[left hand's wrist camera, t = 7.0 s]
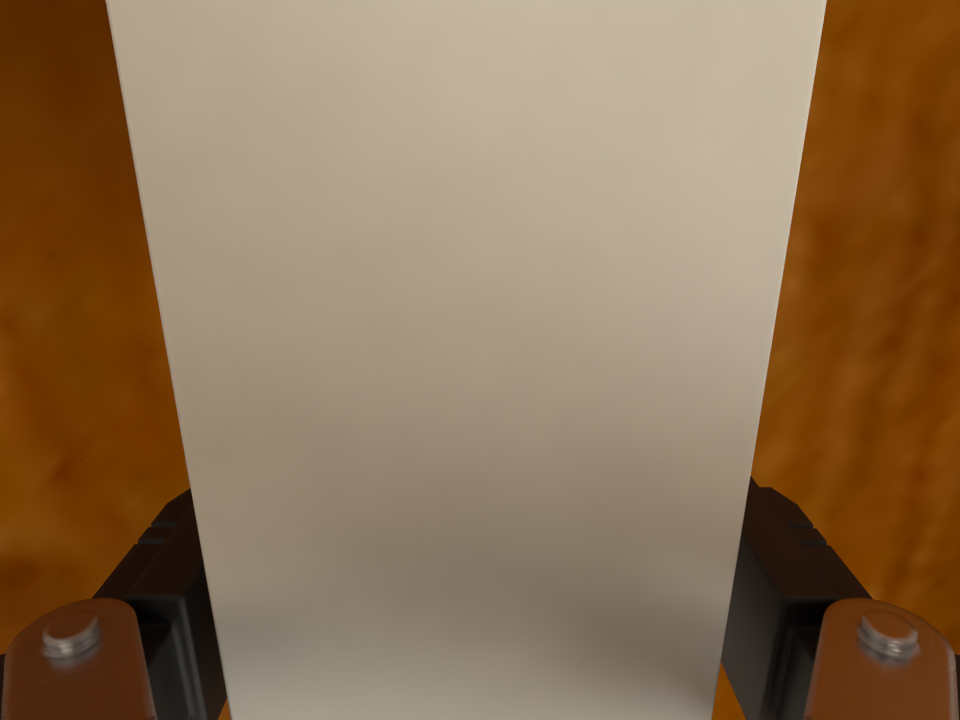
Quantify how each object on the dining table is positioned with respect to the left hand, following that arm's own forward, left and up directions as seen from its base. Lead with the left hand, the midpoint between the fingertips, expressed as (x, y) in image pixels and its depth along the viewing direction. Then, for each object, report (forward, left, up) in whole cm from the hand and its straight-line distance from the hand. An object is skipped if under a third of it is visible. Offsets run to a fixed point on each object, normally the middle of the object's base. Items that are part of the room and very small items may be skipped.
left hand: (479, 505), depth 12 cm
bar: (-3, +10, -5) cm, 11 cm away
